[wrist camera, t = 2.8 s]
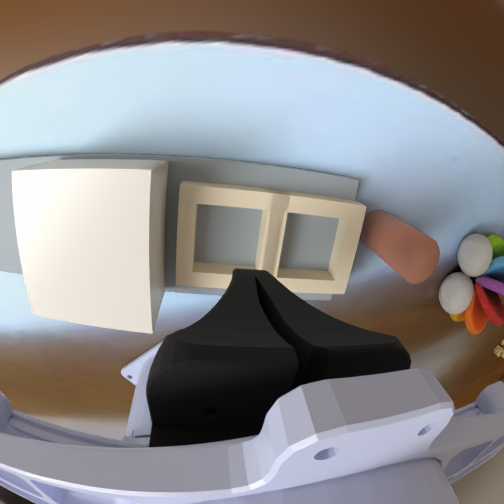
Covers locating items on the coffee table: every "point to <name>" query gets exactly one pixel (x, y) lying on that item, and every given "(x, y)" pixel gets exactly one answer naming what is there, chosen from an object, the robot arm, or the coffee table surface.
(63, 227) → the block
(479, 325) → the rainbow fan toy
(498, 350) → the dice set
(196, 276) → the board
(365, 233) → the peg
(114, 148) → the coffee table surface
